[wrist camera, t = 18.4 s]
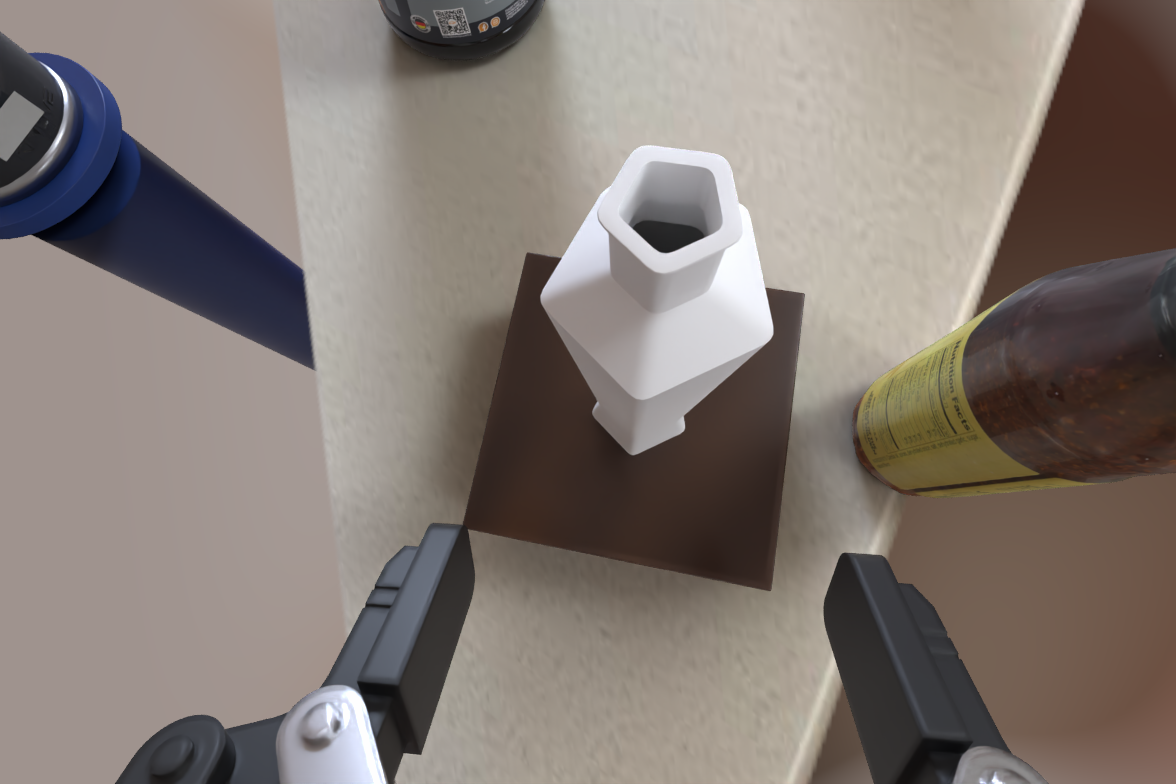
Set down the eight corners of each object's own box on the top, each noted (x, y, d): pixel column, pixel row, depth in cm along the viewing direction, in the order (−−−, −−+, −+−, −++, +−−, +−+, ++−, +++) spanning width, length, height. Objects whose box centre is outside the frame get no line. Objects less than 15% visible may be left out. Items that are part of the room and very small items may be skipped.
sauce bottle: (991, 404, 27) (1963, 103, 7) (952, 522, 26) (1975, 536, 6) (860, 352, 28) (1411, -34, 8) (817, 463, 27) (1336, 316, 7)
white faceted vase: (575, 453, 22) (486, 330, 8) (595, 352, 23) (550, 75, 9) (686, 474, 22) (813, 385, 7) (702, 371, 23) (844, 108, 8)
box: (490, 526, 27) (461, 528, 22) (542, 295, 29) (526, 251, 25) (743, 577, 26) (771, 591, 21) (774, 331, 28) (805, 293, 23)
